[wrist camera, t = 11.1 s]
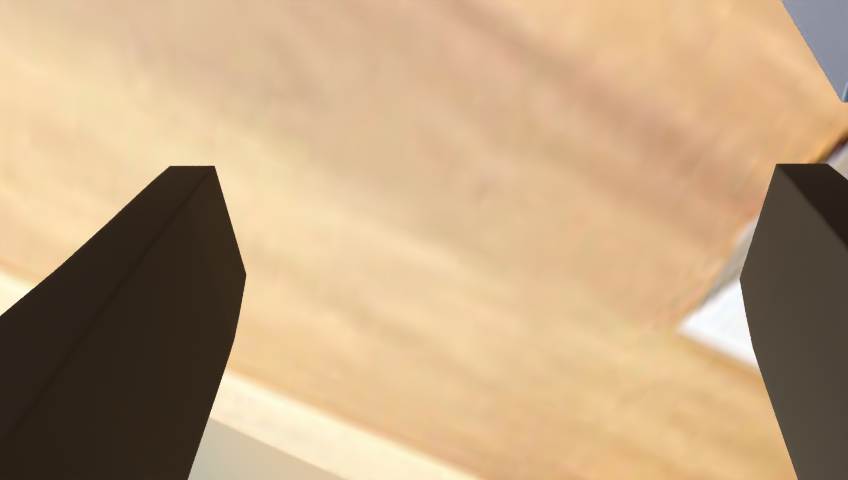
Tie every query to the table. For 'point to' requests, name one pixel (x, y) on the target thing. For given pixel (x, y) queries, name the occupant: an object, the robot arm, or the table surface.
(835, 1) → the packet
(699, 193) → the table surface
